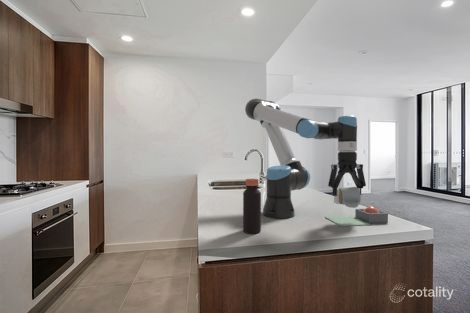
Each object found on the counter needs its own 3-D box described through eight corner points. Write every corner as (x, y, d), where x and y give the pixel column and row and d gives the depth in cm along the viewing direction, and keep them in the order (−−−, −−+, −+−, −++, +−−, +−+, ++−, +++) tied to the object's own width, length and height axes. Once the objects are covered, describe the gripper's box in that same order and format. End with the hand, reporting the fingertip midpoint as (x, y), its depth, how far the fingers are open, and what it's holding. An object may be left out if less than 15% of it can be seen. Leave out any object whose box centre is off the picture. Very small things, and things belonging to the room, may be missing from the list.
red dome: (369, 220, 104) (369, 208, 103) (359, 216, 110) (360, 205, 110) (382, 219, 105) (383, 208, 104) (372, 215, 111) (372, 204, 111)
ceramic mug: (335, 202, 108) (335, 185, 108) (354, 202, 108) (354, 185, 107) (343, 208, 98) (343, 189, 98) (364, 208, 97) (364, 189, 97)
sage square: (341, 226, 98) (341, 225, 98) (324, 217, 111) (324, 216, 111) (370, 225, 100) (370, 224, 100) (350, 216, 113) (350, 215, 113)
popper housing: (368, 223, 102) (369, 214, 102) (355, 217, 111) (355, 209, 111) (387, 222, 103) (388, 213, 103) (373, 216, 112) (373, 208, 112)
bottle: (260, 234, 88) (260, 180, 88) (241, 233, 90) (241, 180, 89) (261, 228, 95) (261, 178, 95) (244, 227, 96) (244, 178, 96)
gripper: (328, 151, 99) (328, 205, 100) (375, 151, 103) (375, 203, 103) (319, 151, 107) (319, 201, 107) (364, 151, 110) (363, 200, 110)
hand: (346, 202), depth 105 cm, fingers closed on ceramic mug, 9 cm apart
